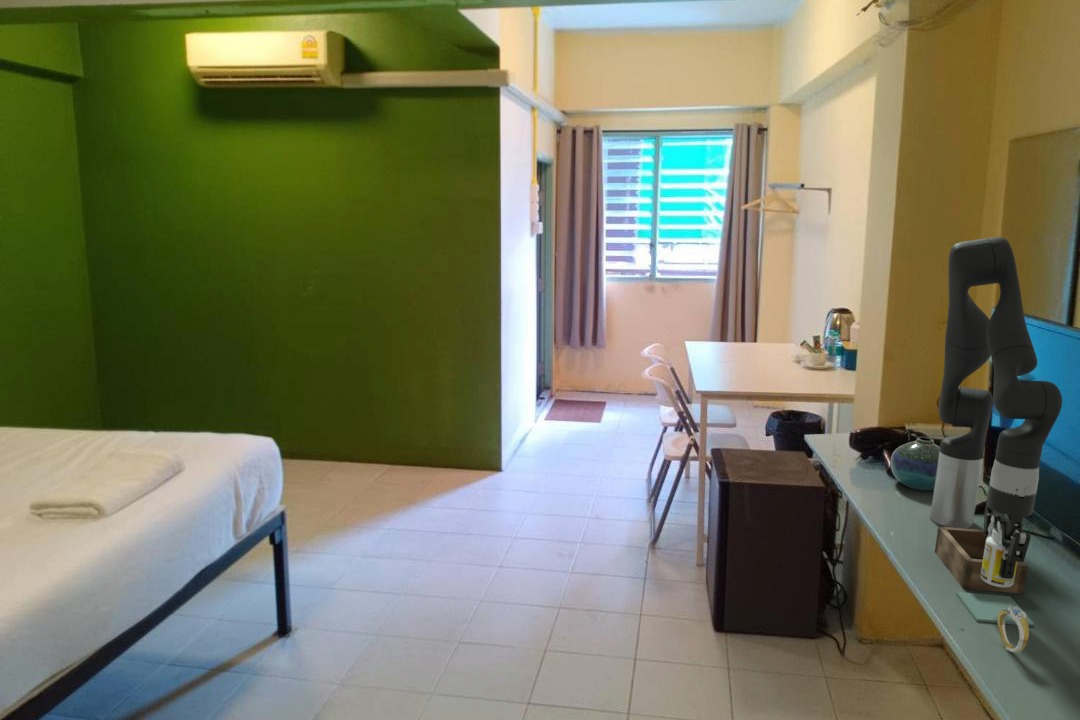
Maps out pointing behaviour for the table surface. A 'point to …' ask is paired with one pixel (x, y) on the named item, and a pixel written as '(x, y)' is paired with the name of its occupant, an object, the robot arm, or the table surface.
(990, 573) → the supplement bottle
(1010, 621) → the mat
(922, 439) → the vase
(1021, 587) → the box
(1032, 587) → the table surface
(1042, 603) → the table surface
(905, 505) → the table surface
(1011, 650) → the ring
